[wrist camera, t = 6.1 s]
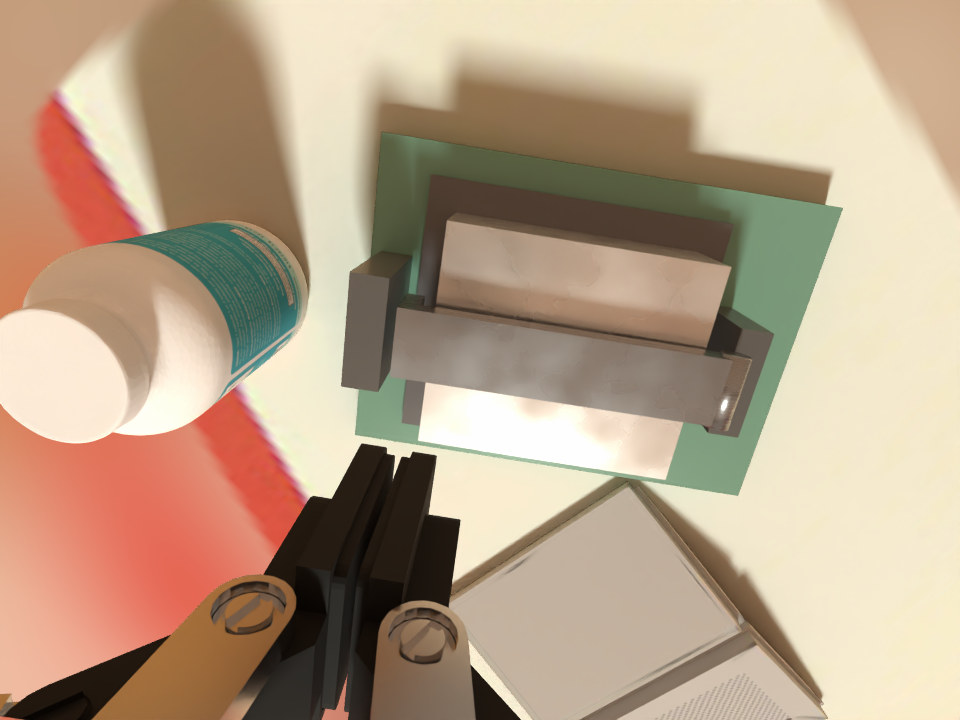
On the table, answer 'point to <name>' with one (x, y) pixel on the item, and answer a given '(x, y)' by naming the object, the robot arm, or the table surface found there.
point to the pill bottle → (148, 330)
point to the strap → (566, 365)
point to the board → (751, 284)
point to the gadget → (624, 627)
